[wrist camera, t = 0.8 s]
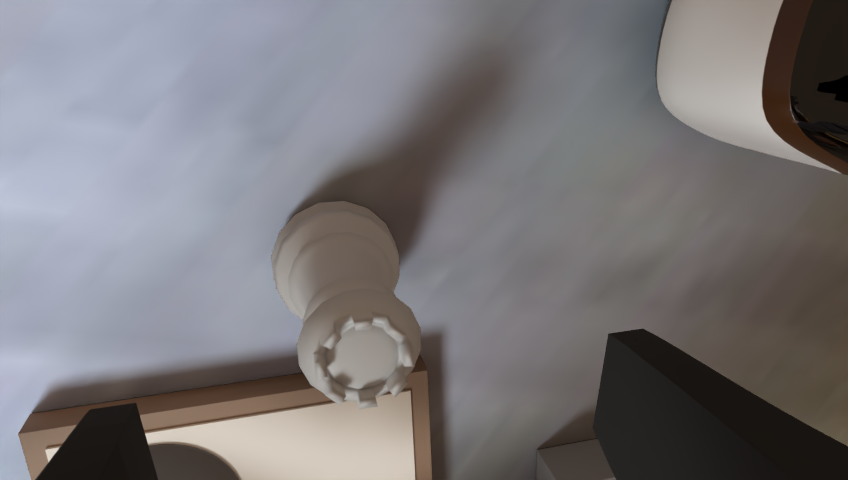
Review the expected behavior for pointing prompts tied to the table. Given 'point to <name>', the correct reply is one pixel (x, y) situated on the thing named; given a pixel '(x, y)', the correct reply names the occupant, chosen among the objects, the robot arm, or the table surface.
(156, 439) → the board
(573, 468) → the button housing
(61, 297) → the table surface
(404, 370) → the rook chess piece
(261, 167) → the table surface
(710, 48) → the spread jar
